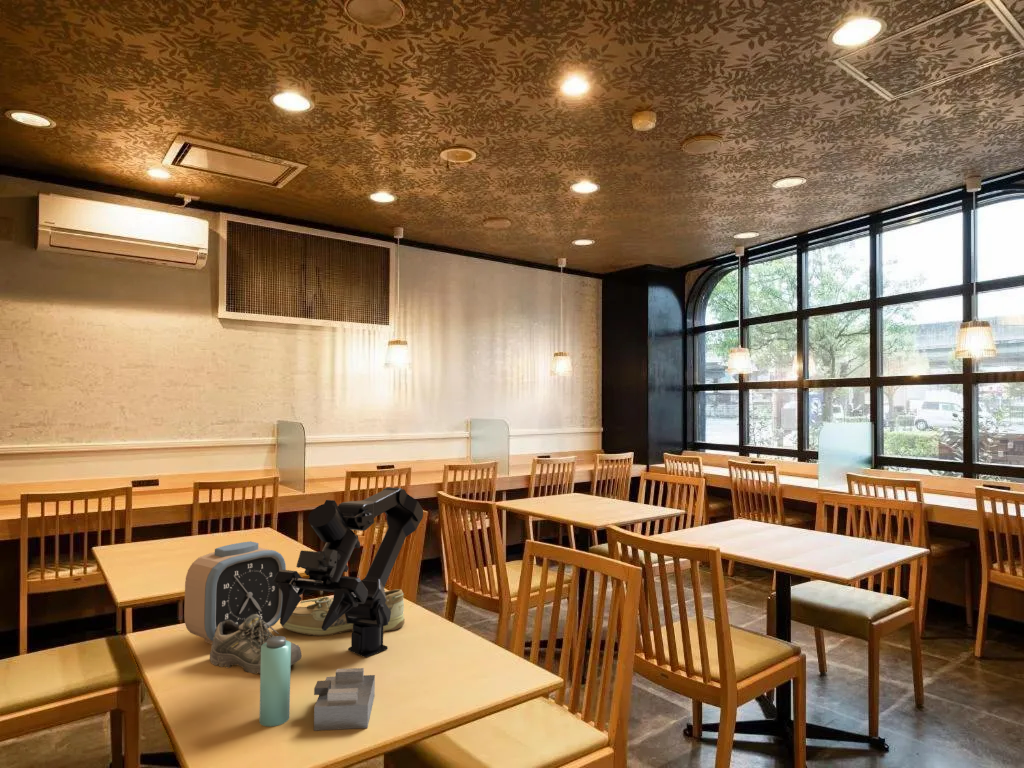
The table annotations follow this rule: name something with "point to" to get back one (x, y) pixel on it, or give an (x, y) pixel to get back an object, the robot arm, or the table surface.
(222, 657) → the hiking shoe
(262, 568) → the alarm clock
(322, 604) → the boat shoe
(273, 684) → the bottle
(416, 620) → the table surface
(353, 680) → the block
